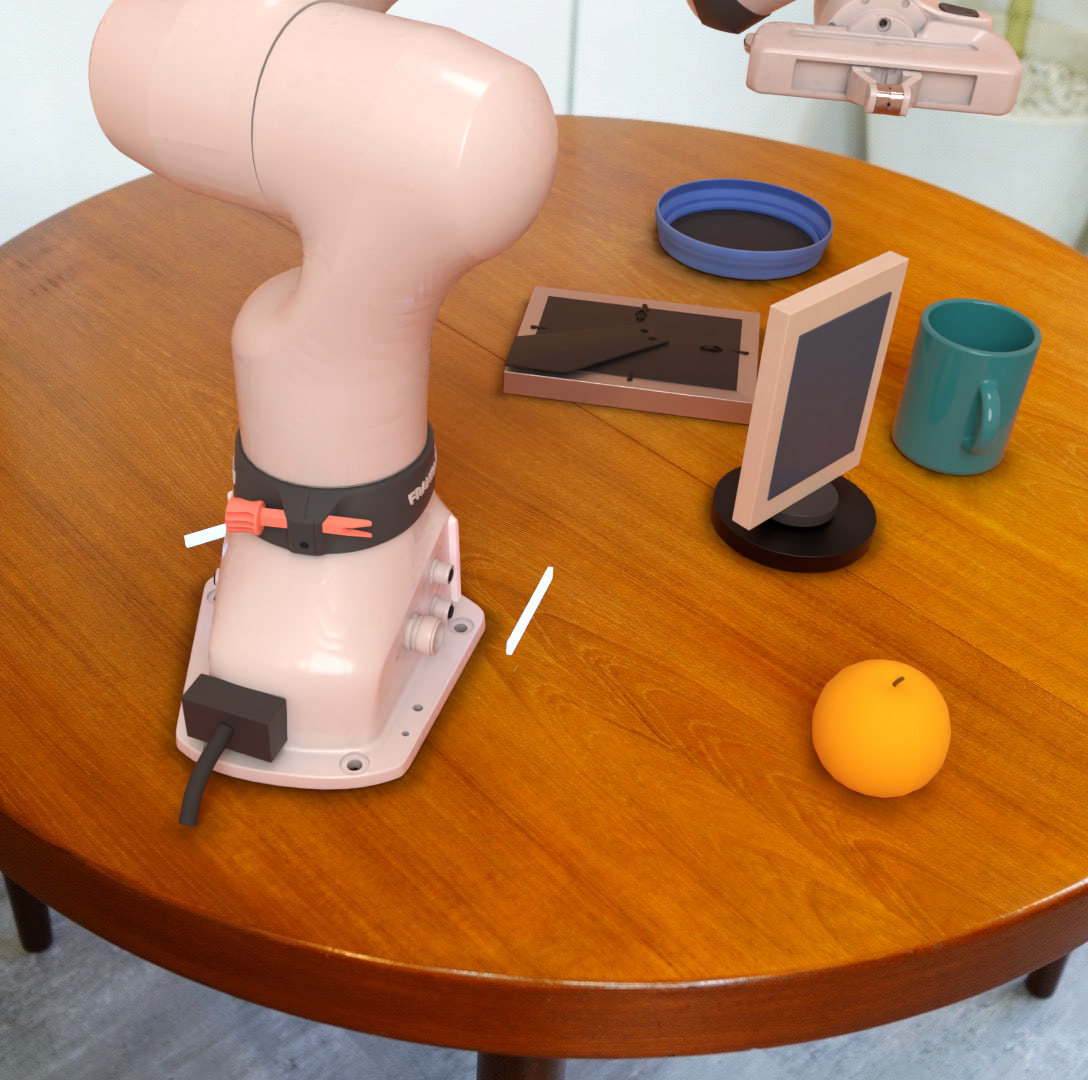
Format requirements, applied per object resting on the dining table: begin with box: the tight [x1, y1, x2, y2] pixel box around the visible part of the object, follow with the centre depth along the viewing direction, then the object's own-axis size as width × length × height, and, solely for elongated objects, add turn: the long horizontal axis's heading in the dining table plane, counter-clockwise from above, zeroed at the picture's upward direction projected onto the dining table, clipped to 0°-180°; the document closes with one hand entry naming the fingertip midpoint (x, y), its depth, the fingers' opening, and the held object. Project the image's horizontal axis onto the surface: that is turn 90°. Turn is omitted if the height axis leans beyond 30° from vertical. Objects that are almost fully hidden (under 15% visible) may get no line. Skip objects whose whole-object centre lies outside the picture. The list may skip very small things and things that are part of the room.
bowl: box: [654, 177, 834, 281], centre depth 134 cm, size 18×18×4 cm
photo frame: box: [732, 250, 910, 530], centre depth 92 cm, size 6×13×18 cm, turn 133°
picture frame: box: [503, 285, 761, 426], centre depth 115 cm, size 16×3×21 cm
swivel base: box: [710, 465, 877, 574], centre depth 98 cm, size 12×12×2 cm
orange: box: [811, 658, 952, 799], centre depth 77 cm, size 8×8×8 cm
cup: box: [891, 297, 1043, 476], centre depth 103 cm, size 9×12×11 cm
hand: (888, 104), depth 94 cm, fingers closed
